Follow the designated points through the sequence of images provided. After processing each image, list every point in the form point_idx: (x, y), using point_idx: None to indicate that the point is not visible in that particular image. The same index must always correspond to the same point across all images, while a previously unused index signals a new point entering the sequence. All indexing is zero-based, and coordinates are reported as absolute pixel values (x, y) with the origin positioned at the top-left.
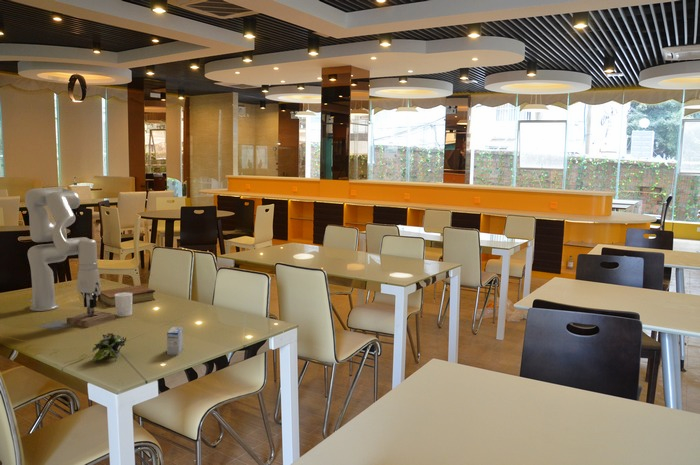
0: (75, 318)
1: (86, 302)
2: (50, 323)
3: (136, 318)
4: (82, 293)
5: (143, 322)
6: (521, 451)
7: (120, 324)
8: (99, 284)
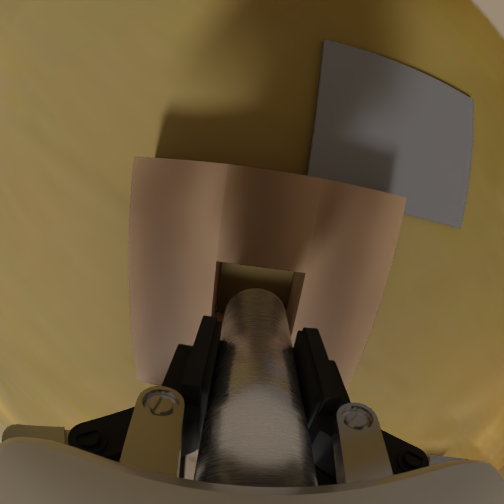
0: (319, 194)
1: (301, 375)
2: (461, 161)
3: (99, 397)
4: (403, 461)
5: (31, 349)
6: None
7: (66, 300)
8: None
